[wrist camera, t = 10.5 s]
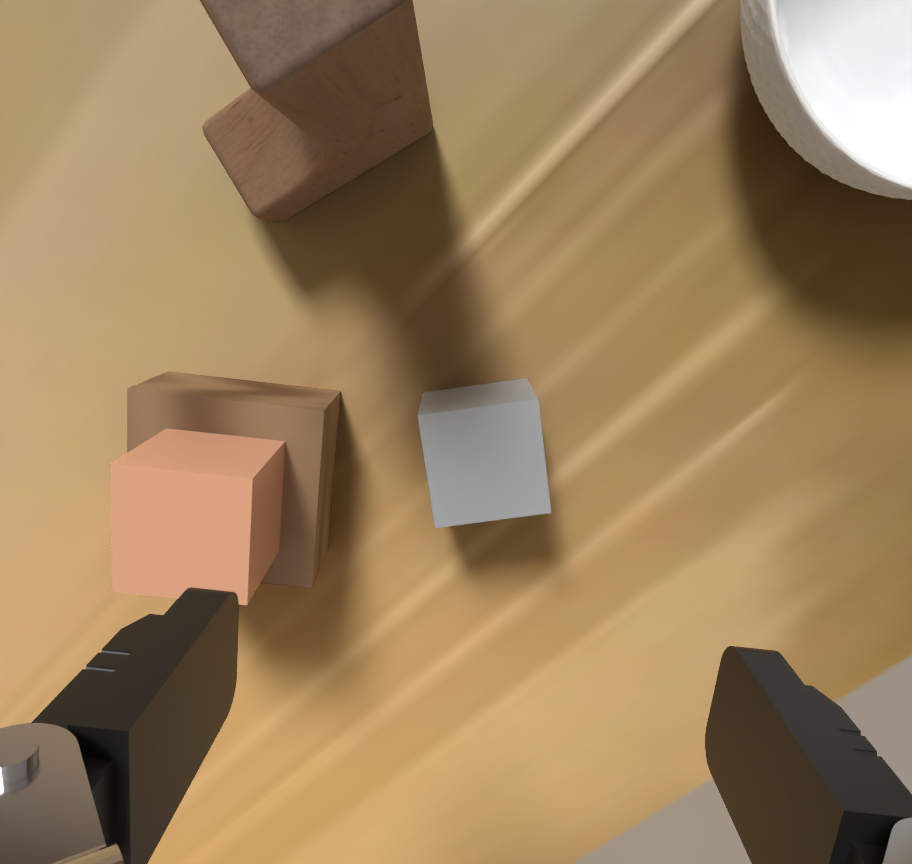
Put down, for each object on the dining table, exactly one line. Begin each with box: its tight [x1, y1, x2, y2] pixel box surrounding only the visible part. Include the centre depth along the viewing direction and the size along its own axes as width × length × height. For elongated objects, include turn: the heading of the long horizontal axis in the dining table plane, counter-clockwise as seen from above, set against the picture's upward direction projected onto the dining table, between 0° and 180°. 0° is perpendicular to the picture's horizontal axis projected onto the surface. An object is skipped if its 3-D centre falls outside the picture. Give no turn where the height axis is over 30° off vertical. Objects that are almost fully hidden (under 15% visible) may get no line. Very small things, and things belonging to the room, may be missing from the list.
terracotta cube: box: [110, 428, 285, 605], centre depth 31 cm, size 6×6×6 cm
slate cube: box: [417, 378, 551, 528], centre depth 35 cm, size 6×6×6 cm
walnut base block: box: [127, 372, 340, 588], centre depth 36 cm, size 9×9×5 cm
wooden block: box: [200, 0, 433, 222], centre depth 25 cm, size 9×4×18 cm, turn 119°
